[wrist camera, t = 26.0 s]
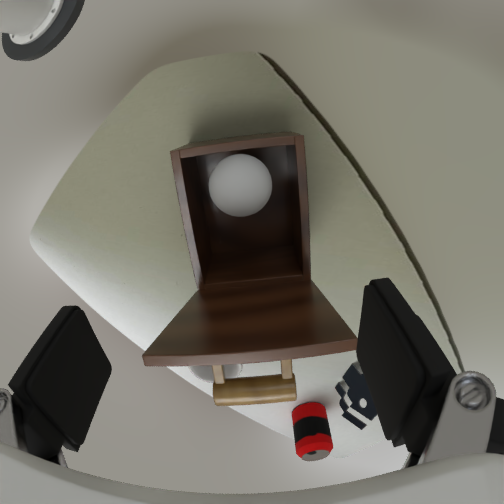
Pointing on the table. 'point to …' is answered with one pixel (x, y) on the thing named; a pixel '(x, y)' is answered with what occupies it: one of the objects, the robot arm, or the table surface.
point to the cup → (207, 372)
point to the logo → (356, 397)
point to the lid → (252, 337)
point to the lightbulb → (240, 185)
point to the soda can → (311, 431)
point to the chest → (249, 227)
